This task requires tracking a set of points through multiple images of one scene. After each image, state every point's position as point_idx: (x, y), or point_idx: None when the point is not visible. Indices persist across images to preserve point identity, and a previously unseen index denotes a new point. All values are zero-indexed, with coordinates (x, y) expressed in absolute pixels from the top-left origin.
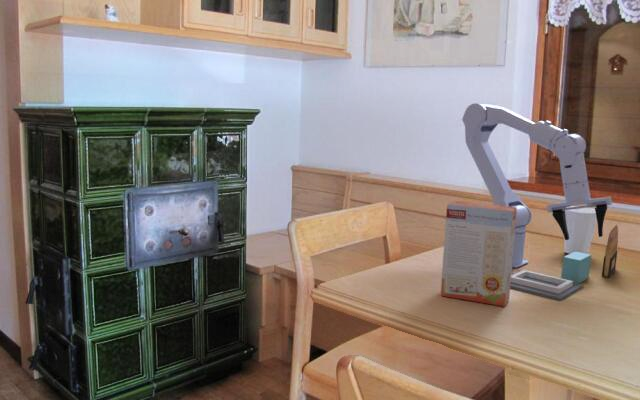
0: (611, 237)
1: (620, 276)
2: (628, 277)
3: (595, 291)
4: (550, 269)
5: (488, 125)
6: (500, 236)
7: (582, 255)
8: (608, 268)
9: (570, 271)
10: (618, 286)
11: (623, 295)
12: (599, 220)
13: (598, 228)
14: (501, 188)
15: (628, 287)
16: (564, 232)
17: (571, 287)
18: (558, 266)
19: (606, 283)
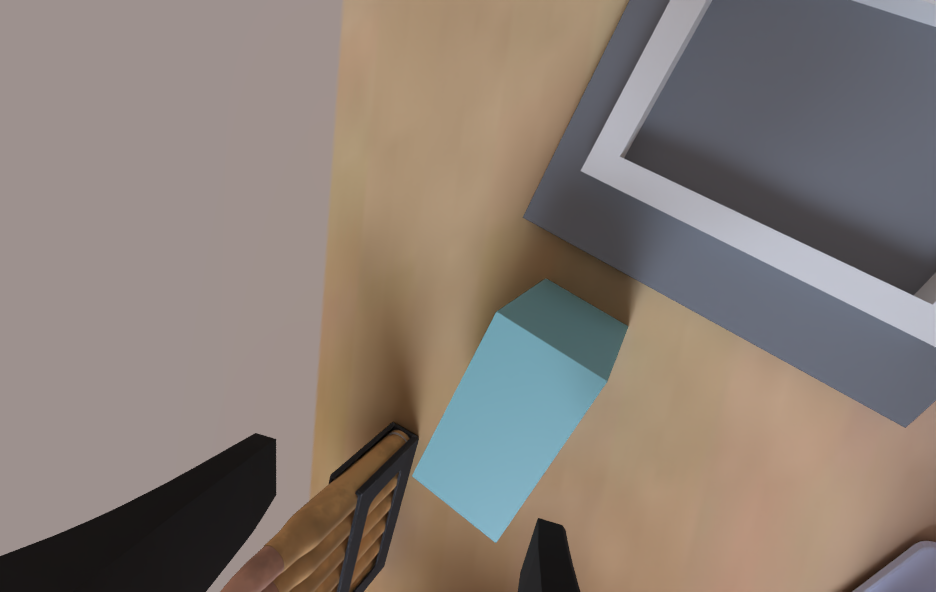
0: (245, 569)
1: (354, 446)
2: (330, 437)
3: (475, 169)
4: (650, 527)
5: None
6: None
7: (464, 449)
8: (374, 448)
9: (570, 316)
10: (373, 297)
11: (368, 158)
12: (102, 542)
13: (209, 483)
14: None
15: (341, 295)
16: (563, 590)
17: (598, 134)
18: (592, 580)
19: (412, 330)
